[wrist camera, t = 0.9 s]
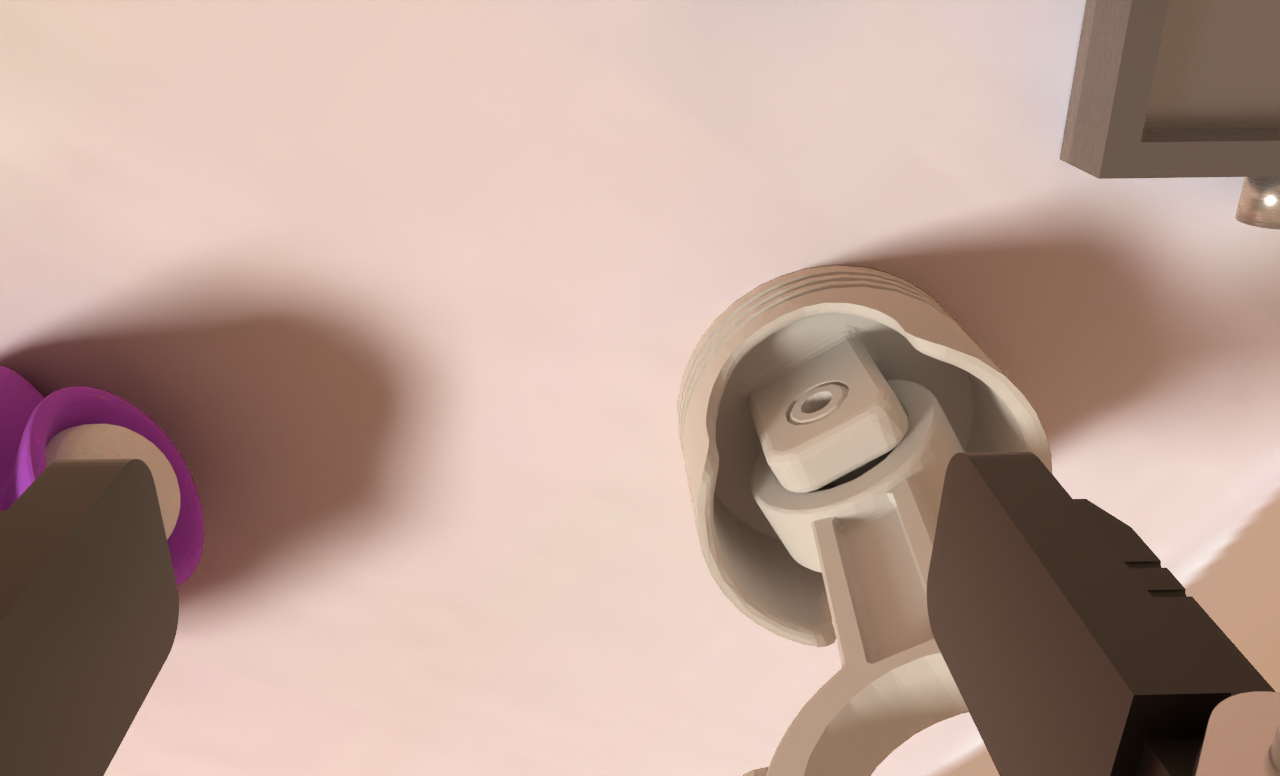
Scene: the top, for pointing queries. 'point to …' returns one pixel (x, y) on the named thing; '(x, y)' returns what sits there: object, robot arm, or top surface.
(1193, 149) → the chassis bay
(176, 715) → the top surface
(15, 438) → the toy camera
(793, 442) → the engine component
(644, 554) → the top surface
